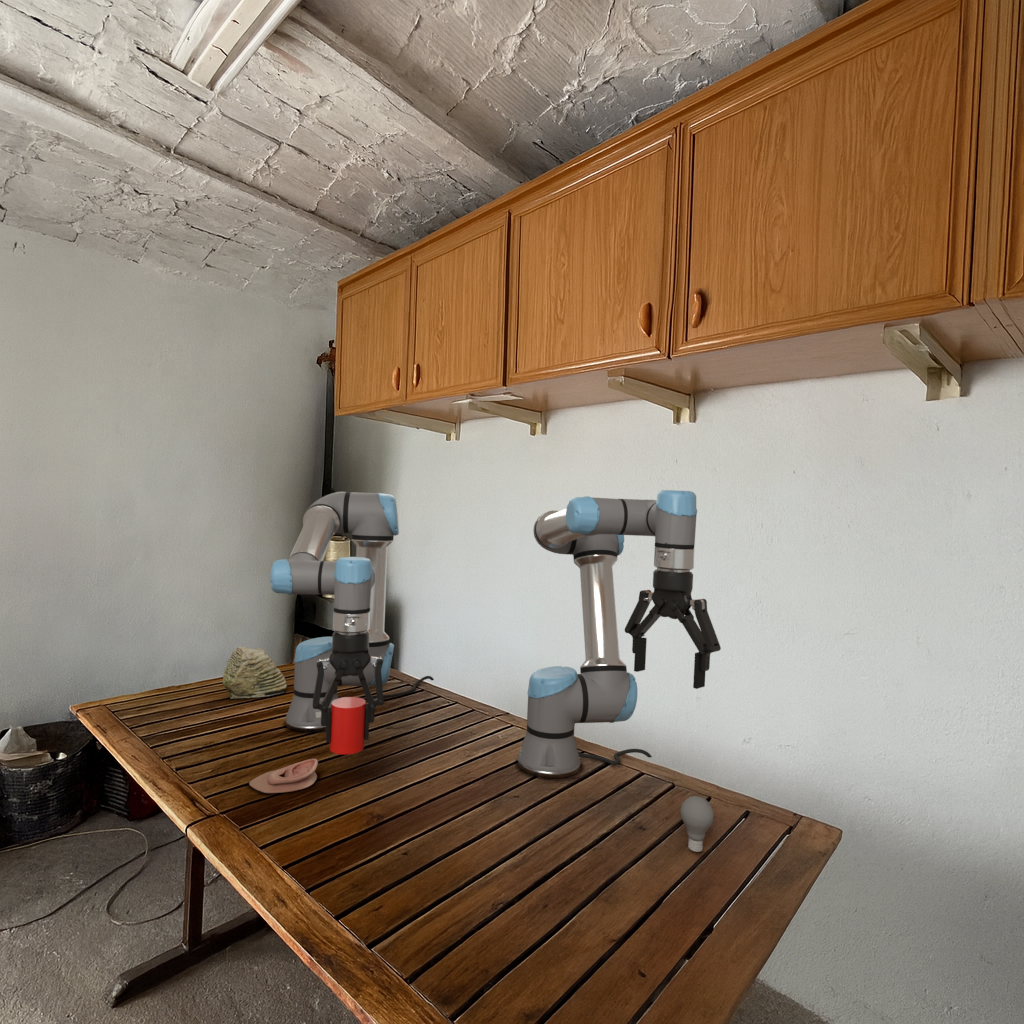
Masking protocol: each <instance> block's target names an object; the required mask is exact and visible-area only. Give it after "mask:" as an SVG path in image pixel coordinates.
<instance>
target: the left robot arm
mask: <svg viewBox="0 0 1024 1024" xmlns="http://www.w3.org/2000/svg"><path fill="white" fill-rule="evenodd" d="M397 507H398V505H397V499H396V498H395V496H394V495H393V494H390V493H382V492H355V491H354V492H352V491H336V492H332V493H329V494H326V495H324V496H322V497H321V498H318V499H317V500H316V501H314V502H313V503H311V505H309V507H307V509H306V511H305V512H304V515H303V517H302V525H303V526H302V528H301V531H300V533H299V535H298V537H297V539H296V542H295V544H294V546H293V547H292V551H291V553H290V555H289V556H288V559H287V558H284V559H277V560H274V562H273V563H272V566H271V569H270V577H269V579H270V587H271V590H272V591H273V593H276V594H282V595H283V594H284V595H320V596H321V595H322V596H324V595H326V596H333V610H332V616H333V617H332V630H333V631H334V632H333V633H332V636H321V637H315V638H310V639H307V640H303V641H302V642H300V643H298V645H296V648H295V654H294V660H293V662H294V672H293V673H294V674H293V695H292V696H293V697H292V699H291V702H290V704H289V708H288V711H287V713H286V715H285V726H286V728H287V729H289V730H291V731H294V732H295V731H296V732H301V733H316V732H325V743H326V744H330V730H331V702H332V701H333V700H335V699H338V698H339V695H338V687H341V686H342V687H362V691H363V693H364V696H365V697H362V699H364V700H365V701H366V703H367V704H366V710H365V735H364V741H369V735H370V734H369V732H370V724H372V723H375V715H376V714H375V713H376V708H377V707H379V706H382V705H383V704H384V702H385V700H384V699H390V698H395V697H402V696H405V695H408V694H411V693H412V692H414V691H415V690H416V687H417V686H418V685H419V684H420V683H422V682H424V681H425V680H428V679H429V680H430V681H435V679H434V678H433V676H431V675H425V676H422V678H420V679H418V680H417V681H415V682H414V683H413V685H412V688H411V689H408V690H405V691H401V692H397V693H390V694H389V693H388V694H384V688H383V686H384V685H386V684H387V683H388V681H389V678H390V672H391V665H392V660H393V654H394V648H395V644H394V643H392V642H390V636H389V635H388V634H387V633H386V632H385V620H386V619H385V618H386V596H387V594H386V593H387V573H388V571H387V570H388V548H389V546H390V545H392V544H393V543H394V536H398V535H400V530H399V527H400V526H399V515H398V508H397ZM336 534H349V535H350V534H351V539H350V540H351V542H352V543H353V544H354V545H355V547H356V553H355V556H344V557H339V558H338V559H336V561H335V560H334V561H333V560H325V557H326V554H327V551H328V548H329V546H330V543H331V540H332V537H333V536H335V535H336ZM370 687H375V695H372V691H371V689H370Z"/></svg>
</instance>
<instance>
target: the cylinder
mask: <svg viewBox="0 0 1024 1024" xmlns="http://www.w3.org/2000/svg"><path fill="white" fill-rule="evenodd" d="M362 698H363V697H362ZM362 698H361V697H359V696H344V697H338V699H335V700H333V701H332V702H331V730H330V743H329V751H330V752H331V753H333V754H336V755H341V756H342V755H343V756H345V755H353V754H357V753H360V752H361V751H363V750H364V748H365V739H364V735H365V710H366V705H367V700H364V699H362Z"/></svg>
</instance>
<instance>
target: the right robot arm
mask: <svg viewBox="0 0 1024 1024" xmlns="http://www.w3.org/2000/svg"><path fill="white" fill-rule="evenodd" d="M697 514H698V508H697V495H696V493H695V492H693V491H691V490H675V489H673V490H671V489H662V490H659V491H658V493H657V496H656V499H637V498H635V499H633V498H608V497H594V496H593V497H591V496H589V495H588V496H586V495H585V496H574V497H572V498H571V499H569V501H568V503H567V505H566V508H564V509H562V510H549V511H546V512H544V513H542V514H541V515H539V516H538V517H537V519H536V520H535V522H534V525H533V528H532V529H533V530H532V531H533V536H534V538H535V542H536V543H537V544H538V545H539V546H540V547H541V548H543V550H546V551H548V552H551V553H554V554H559V555H572V558H573V564H574V565H575V566H577V567H578V569H579V576H580V577H579V579H580V590H581V593H580V594H581V606H582V621H583V623H582V624H583V641H584V654H585V655H584V657H585V661H584V662H583V663H582V664H581V665H580V666H579V669H580V670H579V671H580V673H578V672H577V670H576V669H575V668H573V667H570V666H561V665H557V666H555V665H554V666H547V667H543V668H540V669H538V670H536V671H534V672H533V673H532V674H531V675H530V677H529V680H528V689H527V712H526V714H527V715H526V733H525V735H524V738H523V740H522V743H521V748H520V749H519V751H518V755H517V766H518V767H519V769H521V770H522V771H523V772H525V773H526V774H528V775H532V776H533V777H538V778H544V779H564V778H569V777H572V776H574V775H576V774H578V773H579V771H580V770H581V758H583V759H589V760H590V759H591V760H597V761H602V762H604V763H607V764H610V765H613V766H614V765H619V764H620V763H621V758H620V756H623V755H626V754H632V753H633V754H634V753H637V754H643V755H644V756H645V757H647V758H653V756H652V754H650V752H648V751H646V750H644V749H642V748H628V749H624V750H619V751H617V752H615V753H614V754H613V757H614V759H615V760H612V759H609V758H607V757H605V756H601V755H595V754H589V753H582V752H578V746H577V742H576V741H577V740H576V738H575V726H576V724H594V723H595V724H600V723H601V724H602V723H608V724H609V723H611V724H614V723H617V722H618V723H619V722H626V721H628V720H629V719H631V717H632V716H633V714H634V712H635V710H636V707H637V703H638V684H637V681H636V677H635V676H634V674H633V673H630V672H628V670H627V664H626V663H625V662H624V661H622V659H621V657H620V646H619V645H620V644H619V631H618V621H617V619H618V618H617V608H616V607H617V605H616V596H615V595H616V593H615V583H614V571H613V568H614V567H613V566H614V565H615V564H616V563H617V562H618V556H620V555H621V554H622V553H623V551H624V547H625V545H624V543H625V536H636V537H637V536H639V537H640V536H641V537H654V555H653V556H654V557H653V566H654V567H655V568H656V569H654V571H652V573H653V574H652V587H653V591H652V590H651V589H642V590H640V591H639V594H638V600H637V603H636V605H635V606H634V609H633V611H632V613H631V614H630V617H629V619H628V621H627V624H626V626H625V627H624V633H626V634H628V635H630V636H631V638H632V643H631V644H632V646H631V647H632V648H631V651H632V654H634V661H633V662H634V664H633V672H635V673H639V672H642V671H643V672H644V671H645V670H646V659H647V658H646V657H647V642H648V641H647V639H648V637H645V636H646V635H645V634H646V633H647V632H648V631H649V630H650V629H651V628H652V626H653V625H654V624H655V623H656V622H657V621H658V620H659V619H660V618H669V619H672V620H678V622H679V623H681V624H682V626H683V627H684V629H685V631H686V633H687V634H688V636H689V637H690V639H691V641H692V642H693V644H694V646H695V648H696V649H697V651H698V652H694V664H693V685H692V687H693V689H696V690H699V689H702V688H704V687H705V685H706V672H708V671H709V670H710V665H711V664H710V663H711V654H712V653H716V652H719V651H721V649H722V647H721V644H720V641H719V639H718V636H717V633H716V631H715V628H714V625H713V623H712V620H711V617H710V614H709V612H708V601H707V599H706V598H699V599H693V598H692V592H693V590H694V589H693V588H694V587H693V586H694V573H693V572H692V570H693V569H694V568H695V543H696V529H697V528H696V527H697ZM651 602H653V604H654V605H653V606H652V608H651V609H650V610H649V612H648V614H646V613H647V610H648V608H649V606H650V605H651ZM690 609H692V610H693V611H694V615H695V617H694V615H693V612H691V610H690ZM645 614H646V616H645ZM644 616H645V617H644ZM695 618H696V621H697V622H696V621H695ZM697 623H698V624H697Z"/></svg>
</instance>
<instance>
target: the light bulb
mask: <svg viewBox="0 0 1024 1024" xmlns="http://www.w3.org/2000/svg"><path fill="white" fill-rule="evenodd" d="M680 817H681V820H682V822H683V824H684V826H685V829H686V834H687V836H688V837H687V838H688V845H687V847H688V849H689V850H690V851H692V852H695V853H699V852H702V851H703V848H704V847H703V846H704V839H705V838H706V833H707V831H708V830H709V829H710V828H711V826H712V824H713V822H714V818H715V813H714V809H713V807H712V805H711V804H710V802H709V801H708V800H707V799H705V797H702V796H699V795H692V796H689V797H687V798H686V799H685V800H684V801H683V802H682V803H681V805H680Z"/></svg>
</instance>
